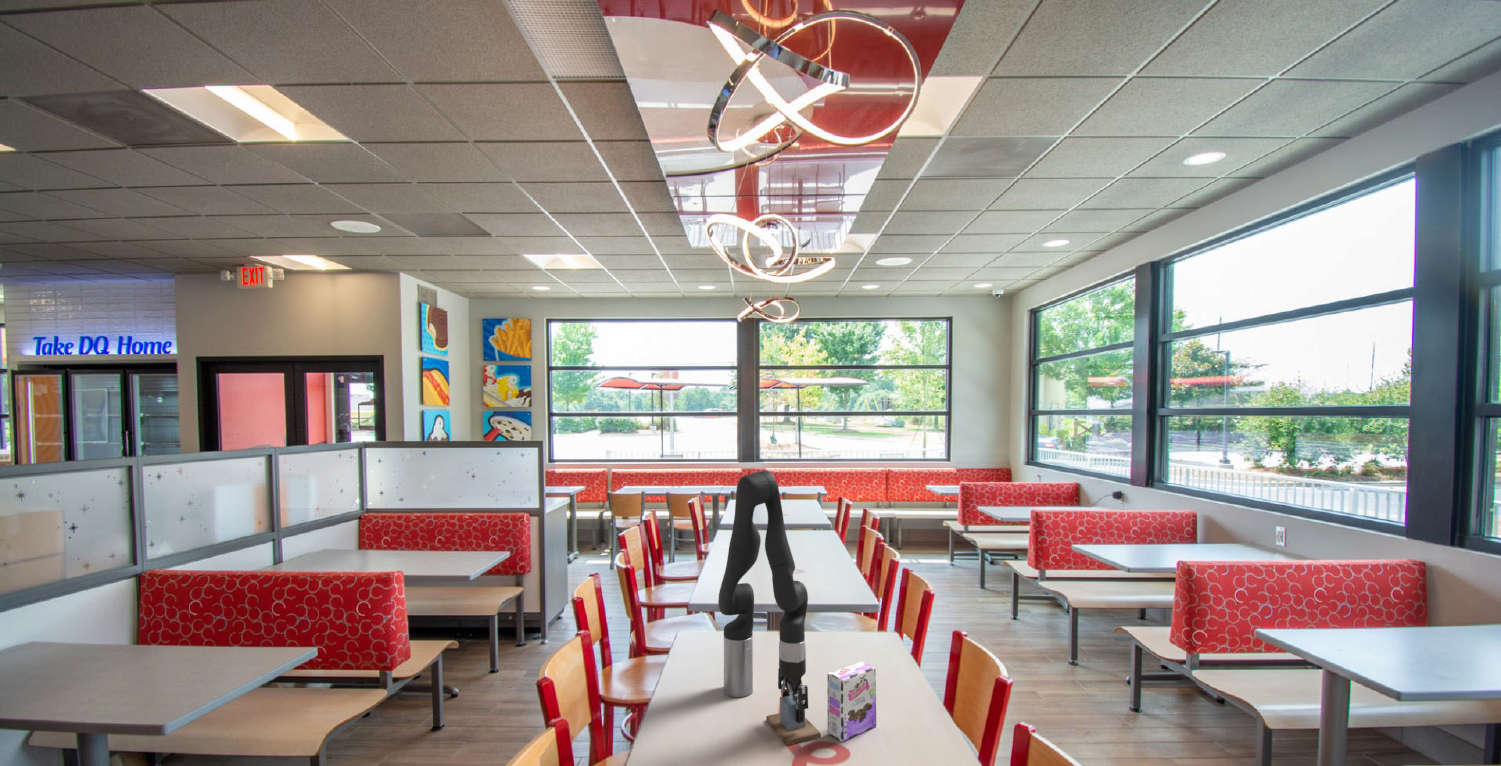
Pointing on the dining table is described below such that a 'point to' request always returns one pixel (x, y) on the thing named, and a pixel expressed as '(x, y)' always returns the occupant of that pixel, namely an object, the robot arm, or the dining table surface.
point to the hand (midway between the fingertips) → (792, 714)
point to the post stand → (795, 734)
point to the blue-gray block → (789, 713)
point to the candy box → (851, 701)
